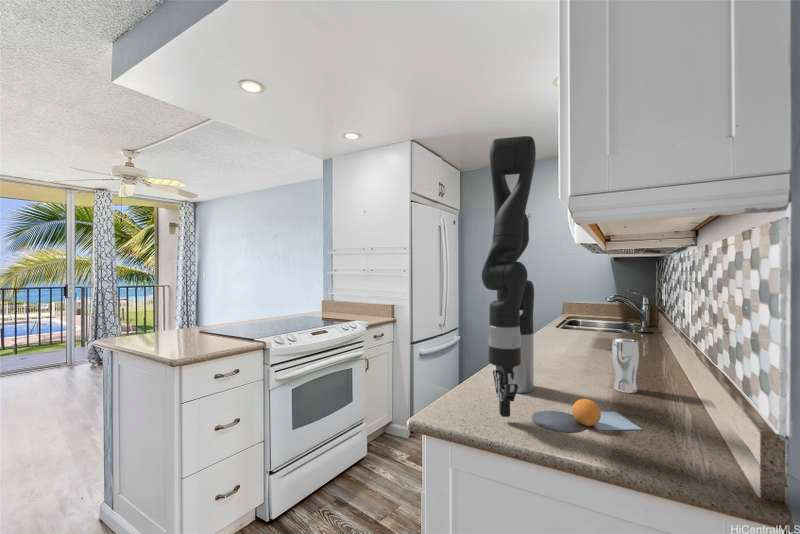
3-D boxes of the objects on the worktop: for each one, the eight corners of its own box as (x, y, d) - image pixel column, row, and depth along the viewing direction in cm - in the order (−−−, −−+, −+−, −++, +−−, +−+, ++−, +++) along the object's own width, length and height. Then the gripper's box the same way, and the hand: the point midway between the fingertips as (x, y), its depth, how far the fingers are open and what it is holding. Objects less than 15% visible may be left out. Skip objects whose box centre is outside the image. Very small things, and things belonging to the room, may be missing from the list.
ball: (562, 408, 90) (578, 389, 90) (581, 422, 91) (597, 403, 90) (575, 421, 84) (591, 401, 84) (594, 436, 85) (611, 416, 84)
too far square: (576, 412, 94) (576, 412, 94) (615, 412, 94) (615, 411, 94) (598, 430, 84) (598, 429, 84) (641, 429, 84) (641, 429, 84)
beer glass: (638, 388, 113) (638, 339, 113) (639, 395, 107) (639, 343, 107) (612, 384, 116) (611, 337, 116) (611, 391, 110) (611, 341, 110)
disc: (524, 411, 95) (524, 410, 95) (571, 411, 95) (571, 410, 95) (543, 432, 83) (543, 431, 83) (596, 432, 83) (596, 431, 83)
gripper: (529, 350, 82) (530, 427, 82) (511, 338, 96) (511, 405, 96) (496, 350, 82) (496, 427, 82) (482, 338, 96) (482, 405, 96)
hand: (504, 415), depth 89 cm, fingers closed
